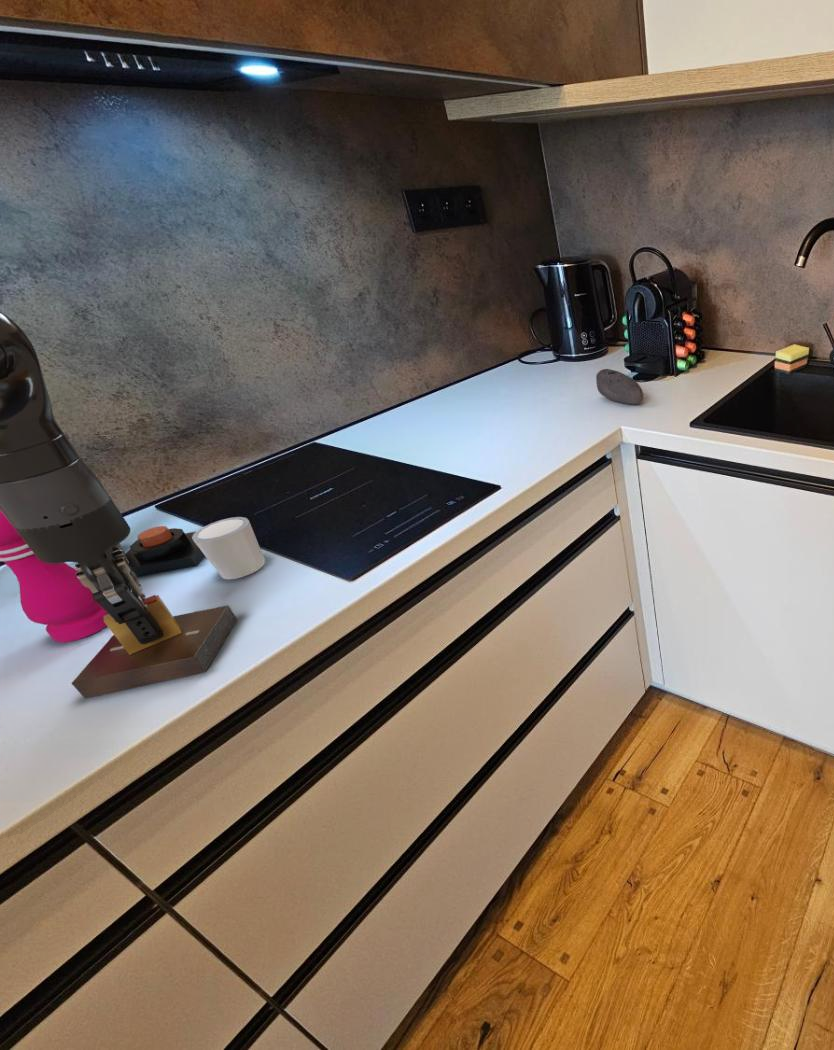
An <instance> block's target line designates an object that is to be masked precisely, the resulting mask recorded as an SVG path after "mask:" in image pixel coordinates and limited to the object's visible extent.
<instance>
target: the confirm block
mask: <svg viewBox="0 0 834 1050" xmlns="http://www.w3.org/2000/svg"><path fill="white" fill-rule="evenodd" d="M168 530H169V531H170V533H171V534H172V536H173V537H172V538H171V539H169V540H167V541H166V542H164V543H161V544H158V545H155V546H150V547H144V546H143V545H142V543H141V542H140V540H139V539H138V538H137V539H136V540H135V541H134V542H132V544H131V545H129V550H127V552H125V554H126V556H127V558H128V561H129V565H130V567H131V568H132V569H133V571H134V572H135V574H136V575H137V577H138V578H141V577H145V576H152V575H156V574H157V575H158V574H162V573H167V572H174V571H177V570H184V569H189V568H195V567H197V566H198V565H199V564H200V563H201V561H202V560H203V559H204V558H205V557H206V556H205V555H204V554H203V552H202V551H201V550H200V548H199V547H198V546H197V545H196V543H195V542H194V541H193V539H192V536H193V535H194V533H195V532H197V531H198V530H196V531H192V532H186V533H185V530H183V528H177V527H173V528H168Z"/></svg>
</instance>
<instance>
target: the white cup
mask: <svg viewBox="0 0 834 1050" xmlns="http://www.w3.org/2000/svg"><path fill="white" fill-rule="evenodd" d="M196 531H197V532H196ZM196 531H194V532H195V533H194V535H193V536H192V539H193V541H194V542H195V543H196V545H197V546H198V547H199V548H200V550H201V551H202V552H203V554H204V555H205V556H204V557H205V558H206V559H207V560H208V561H209V563H210V564H211V565H212V566H213V568H214V569H215V571H216V572H217V573H218V574H219V576H220V577H221V578H222V579H224V580H237V579H240V578H244V577H247V576H249V575H252V574H254V573H256V572H257V571H259V570H260V569H262V567H264V566H265V563H266V559H265V557H264V554H263V552H262V549H261V547H260V544H259V542H258V540H257V537H256V534H255V532H254V529H253V527H252V524H251V522H250V520H249V519H248V518H247V517H243V516H235V517H228V518H224V519H220V520H217V521H214V522H211V523H209V524H207V525H205V526H203V527H200V529H198V530H196Z"/></svg>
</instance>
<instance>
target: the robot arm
mask: <svg viewBox="0 0 834 1050" xmlns="http://www.w3.org/2000/svg"><path fill="white" fill-rule="evenodd" d="M0 510H1V512H2V513H3V514H4V515H5V517H6V518H7V519H8V521H9V522H10V523H11V525H12V526H13V527H14V528H15V530H16V531H17V532H18V534H19V535H20V536H21V537H22V539H23V540H24V541H25V542H26V544H27V545H28V546H29V548H30V549H31V550H32V552H33V553H34V554H35V555H36V557H37V558H38V559H39V560H40V561H42V562H45V563H50V564H59V563H64V562H65V563H75V564H74V567H75V569H76V570H78V571H79V572H77V573H76V576H77V577H78V579H79V580H80V582H81V583H82V584H83V586H85V587H87V588H89V589H90V590H91V591H92V593H93V594H92V595H93V600H94V601H95V602H97V603H98V604H99V605H100V606H101V607H102V608H103V609H104V610H105V611H106V612H107V613H108V614H109V615H110V616H111V617H112V618H113V619H114V620H115V621H116V622H118V623H119V624H123V623H125V624H126V625H127V626H128V628H129V629H130V630H131V632H132V633H133V634H134V636H135V637H136V639H137V640H138V641H139V643H141V644H147V643H150V642H152V641H155V640H157V639H160V638H162V637H163V635H164V634H163V631H162V629H161V628H160V626H159V625H158V623H157V622H156V620H155V619H154V618H153V616H152V615H151V613H150V612H149V610H148V608H149V607H148V605H147V604H146V605H145V603H144V602H143V601H144V600H145V598H147V595H146V594H145V593H144V592H142V590H143V589H142V585H141V583H140V579H139V577H137V575H136V574H135V572H134V571H133V569H132V568H131V567H130V565H129V561H128V558H127V556H126V552H124V549H123V548H122V549H123V550H122V549H119V548H118V547H116V545H118V544H119V543H120V544H121V543H122V542H124V541H126V539H127V538H128V537H129V536H130V533H131V527H130V525H129V523H128V522H127V520H126V519H125V517H124V516H123V515H122V513H121V511H120V510H119V508H118V507H117V505H116V503H115V502H114V501H113V499H112V497H111V496H110V495H109V493H108V492H107V490H106V489H105V487H104V486H103V484H102V483H101V481H100V479H99V478H98V476H97V475H96V474H95V472H93V470H92V469H91V468H90V467H89V466H88V464H86V463H85V462H84V460H83V459H82V457H81V456H80V455H79V454H78V451H77V450H76V448H75V447H74V446H73V444H72V443H71V441H70V440H69V438H68V437H67V435H66V434H65V432H64V431H63V429H62V427H60V425H59V424H58V422H57V419H56V418H55V415H54V412H53V409H52V402H51V400H50V395H49V392H48V389H47V385H46V382H45V378H44V374H43V371H42V366H41V362H40V360H39V357H38V354H37V352H36V349H35V348H34V345H33V343H32V341H31V339H30V338H29V337H28V335H27V334H26V333H25V331H24V330H23V329H22V328H21V327H20V326H19V325H18V324H17V323H16V322H15V321H14V320H13V319H11V318H10V317H9V316H8V315H6V314H5V313H3V312H2V311H0Z"/></svg>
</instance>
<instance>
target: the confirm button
mask: <svg viewBox="0 0 834 1050" xmlns="http://www.w3.org/2000/svg"><path fill="white" fill-rule="evenodd" d="M168 529H169V528H168V527H167V526H166V525H158V526H154V527H150V528H148V529H145V530H143V531H141V532H140V533H139V534H138V535H137V540H138V539H139V540H140V542H141V543H142V545H143V546H144V547H150V546H155V545H158V544H161V543H164V542H166V541H167V540H169V539H171V538H172V537H173V536H172V534H171V533H170V531H169V530H168Z"/></svg>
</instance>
